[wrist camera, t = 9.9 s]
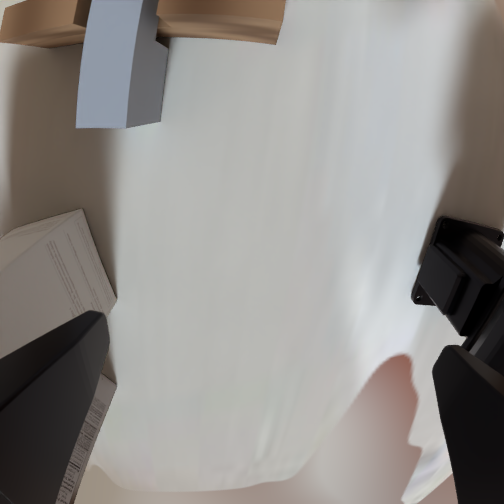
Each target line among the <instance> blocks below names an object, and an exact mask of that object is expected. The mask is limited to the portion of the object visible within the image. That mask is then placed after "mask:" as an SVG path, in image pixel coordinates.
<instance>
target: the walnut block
mask: <svg viewBox="0 0 504 504" xmlns="http://www.w3.org/2000/svg"><path fill="white" fill-rule="evenodd" d="M91 2H92V0H26V1H23V2H21V3H18V4H15V5H12V6H9V7H7V8H5V11H4V16H3V20H2V25H1V30H0V42H2V43H12V44H21V45H28V46H36V47H42V48H55V47H60V46H66V45H73V44H80V43H84V39H85V33H86V28H87V22H88V17H89V12H90V7H91ZM285 2H286V0H159V2H158V7H157V12H156V15H158V16H159V21H158V27H157V33H156V37H190V38H214V39H228V40H240V41H250V42H258V43H266V44H274V45H276V43H277V39H278V36H279V32H280V29H281V25H282V22H283V16H284V9H285Z"/></svg>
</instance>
